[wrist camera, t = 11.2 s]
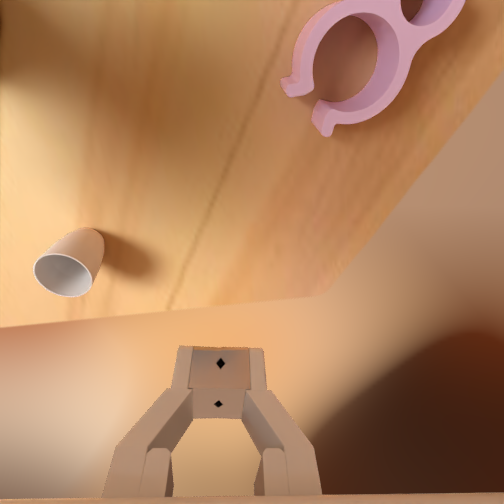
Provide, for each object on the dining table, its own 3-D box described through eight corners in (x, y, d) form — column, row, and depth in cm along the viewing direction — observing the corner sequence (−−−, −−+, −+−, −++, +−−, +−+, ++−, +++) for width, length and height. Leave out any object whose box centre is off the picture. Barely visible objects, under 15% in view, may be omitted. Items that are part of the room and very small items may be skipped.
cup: (68, 256, 57) (39, 294, 49) (59, 216, 53) (26, 250, 45) (115, 261, 58) (95, 299, 50) (111, 221, 54) (88, 256, 46)
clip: (398, -84, 35) (430, -107, 29) (452, 16, 40) (488, 14, 34) (265, 69, 42) (269, 75, 37) (324, 137, 47) (336, 151, 42)
